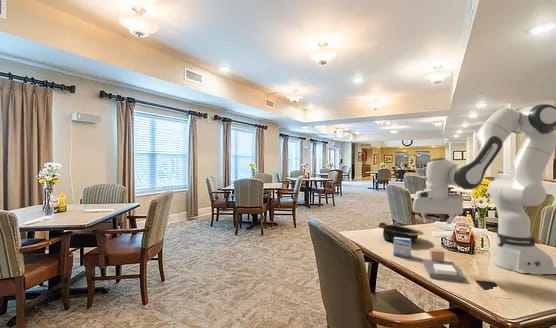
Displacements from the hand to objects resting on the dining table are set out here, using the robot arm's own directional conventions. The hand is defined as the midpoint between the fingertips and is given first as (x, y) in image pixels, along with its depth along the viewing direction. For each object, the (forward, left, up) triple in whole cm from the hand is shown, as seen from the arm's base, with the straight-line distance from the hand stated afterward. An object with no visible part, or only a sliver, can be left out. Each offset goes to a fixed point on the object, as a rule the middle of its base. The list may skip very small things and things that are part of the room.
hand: (437, 223), depth 131 cm
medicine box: (+14, -7, -19) cm, 25 cm away
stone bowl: (+12, -36, -19) cm, 42 cm away
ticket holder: (0, +10, -19) cm, 21 cm away
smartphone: (-14, +23, -19) cm, 33 cm away
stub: (0, 0, -16) cm, 16 cm away
